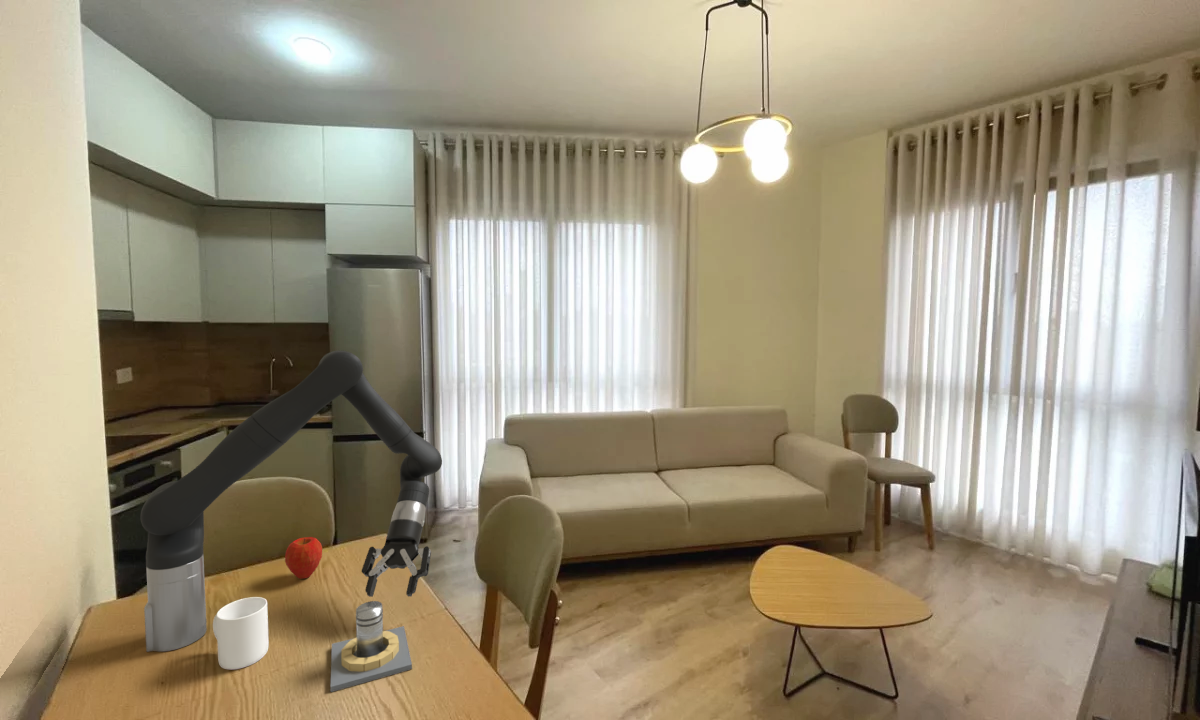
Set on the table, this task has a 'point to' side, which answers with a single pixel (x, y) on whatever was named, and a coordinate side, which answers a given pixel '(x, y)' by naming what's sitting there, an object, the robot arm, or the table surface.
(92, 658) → the table surface
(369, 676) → the ring block
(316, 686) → the table surface
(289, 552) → the apple
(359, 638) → the piston
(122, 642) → the table surface
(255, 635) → the mug
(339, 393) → the robot arm
